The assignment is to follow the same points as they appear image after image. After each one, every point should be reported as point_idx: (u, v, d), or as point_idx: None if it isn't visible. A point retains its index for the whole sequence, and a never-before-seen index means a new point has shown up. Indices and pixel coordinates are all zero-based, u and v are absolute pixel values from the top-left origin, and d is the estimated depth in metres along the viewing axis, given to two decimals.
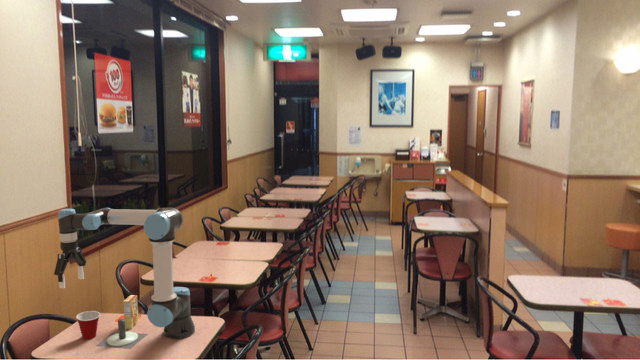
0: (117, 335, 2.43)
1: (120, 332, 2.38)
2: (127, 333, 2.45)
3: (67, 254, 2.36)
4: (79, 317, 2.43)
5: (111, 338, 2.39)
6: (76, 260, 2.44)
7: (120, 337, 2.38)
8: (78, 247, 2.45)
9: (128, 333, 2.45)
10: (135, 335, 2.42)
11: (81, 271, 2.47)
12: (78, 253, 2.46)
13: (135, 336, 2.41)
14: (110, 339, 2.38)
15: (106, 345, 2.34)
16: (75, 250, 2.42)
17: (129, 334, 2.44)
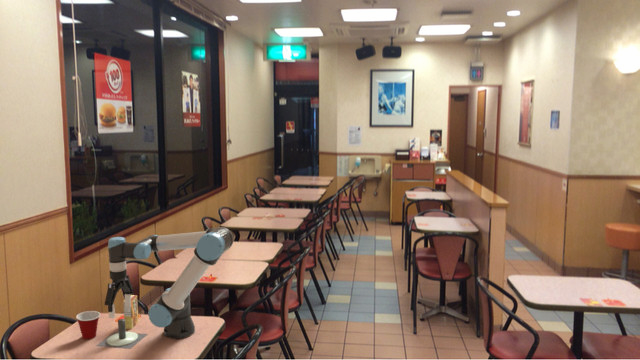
0: (117, 335, 2.43)
1: (120, 332, 2.38)
2: (127, 333, 2.45)
3: (117, 283, 2.33)
4: (79, 317, 2.43)
5: (111, 338, 2.39)
6: (124, 288, 2.41)
7: (120, 337, 2.38)
8: (126, 275, 2.42)
9: (128, 333, 2.45)
10: (135, 335, 2.42)
11: (128, 299, 2.44)
12: (126, 281, 2.43)
13: (135, 336, 2.41)
14: (110, 339, 2.38)
15: (106, 345, 2.34)
16: (124, 279, 2.39)
17: (129, 334, 2.44)
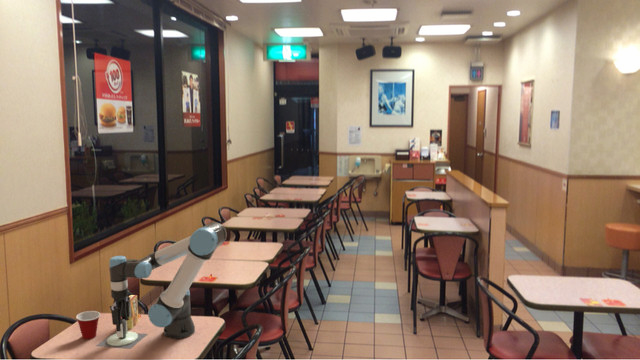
0: None
1: None
2: (127, 333, 2.45)
3: (118, 302, 2.34)
4: (79, 317, 2.43)
5: (111, 338, 2.39)
6: (123, 311, 2.40)
7: (120, 337, 2.38)
8: (128, 297, 2.43)
9: (128, 333, 2.45)
10: (135, 335, 2.42)
11: (125, 326, 2.40)
12: (126, 303, 2.42)
13: (135, 336, 2.41)
14: (110, 339, 2.38)
15: (106, 345, 2.34)
16: (125, 297, 2.40)
17: (129, 334, 2.44)
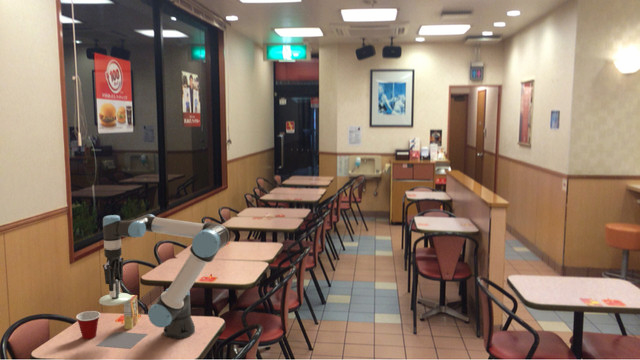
0: None
1: None
2: (120, 294, 2.43)
3: (111, 261, 2.32)
4: (79, 317, 2.43)
5: (103, 298, 2.37)
6: (116, 271, 2.38)
7: (113, 297, 2.36)
8: None
9: (121, 294, 2.43)
10: (128, 296, 2.40)
11: (118, 286, 2.39)
12: (119, 264, 2.40)
13: (128, 297, 2.39)
14: (102, 299, 2.36)
15: (106, 345, 2.34)
16: (119, 257, 2.38)
17: (122, 295, 2.42)
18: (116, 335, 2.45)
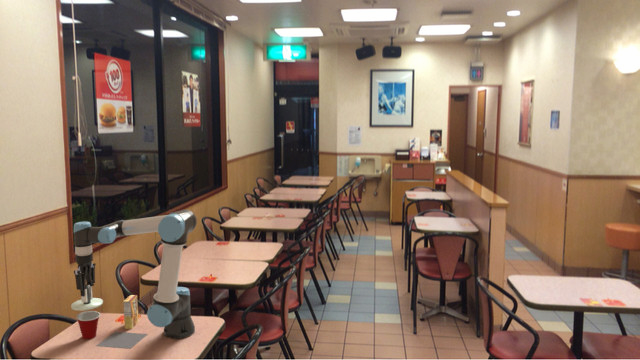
0: None
1: None
2: (92, 299, 2.46)
3: (82, 267, 2.36)
4: (79, 317, 2.43)
5: (76, 303, 2.40)
6: (88, 276, 2.41)
7: (85, 302, 2.40)
8: (93, 263, 2.45)
9: (93, 299, 2.46)
10: (100, 301, 2.44)
11: (90, 291, 2.42)
12: (91, 269, 2.44)
13: (100, 301, 2.43)
14: (74, 304, 2.40)
15: (106, 345, 2.34)
16: (90, 263, 2.42)
17: (94, 300, 2.45)
18: (116, 335, 2.45)
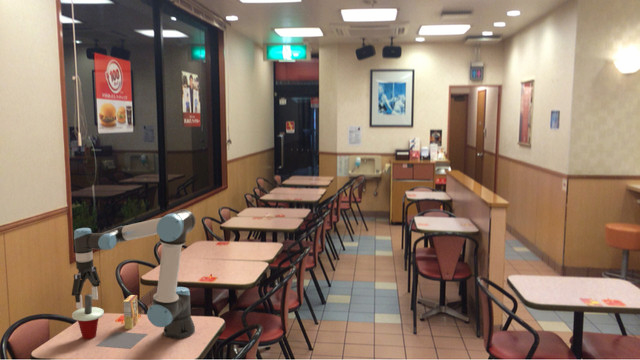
0: (83, 310, 2.45)
1: (86, 307, 2.40)
2: (93, 308, 2.47)
3: (83, 273, 2.36)
4: None
5: (77, 313, 2.41)
6: (91, 280, 2.44)
7: (86, 312, 2.40)
8: None
9: (94, 308, 2.47)
10: (101, 311, 2.45)
11: (95, 291, 2.46)
12: (93, 273, 2.46)
13: (101, 312, 2.44)
14: (75, 313, 2.40)
15: (106, 345, 2.34)
16: (91, 269, 2.42)
17: (95, 310, 2.46)
18: (116, 335, 2.45)
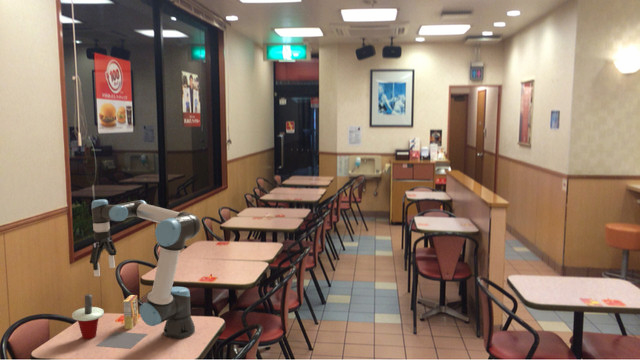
0: (83, 310, 2.45)
1: (86, 307, 2.40)
2: (93, 308, 2.47)
3: (101, 243, 2.44)
4: None
5: (77, 313, 2.41)
6: (108, 249, 2.52)
7: (86, 312, 2.40)
8: (109, 237, 2.53)
9: (94, 308, 2.47)
10: (101, 311, 2.45)
11: (112, 260, 2.55)
12: (109, 243, 2.54)
13: (101, 312, 2.44)
14: (76, 313, 2.40)
15: (106, 345, 2.34)
16: (107, 240, 2.50)
17: (95, 310, 2.46)
18: (116, 335, 2.45)
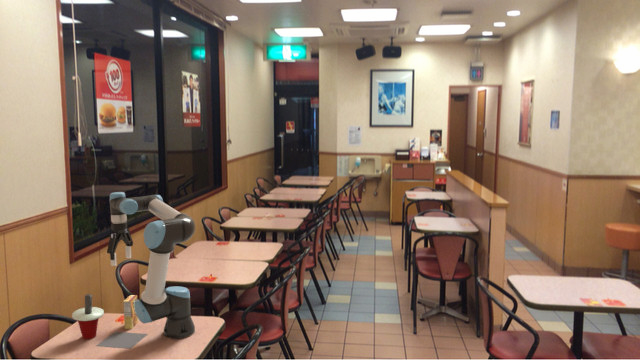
0: (83, 310, 2.45)
1: (86, 307, 2.40)
2: (93, 308, 2.47)
3: (118, 234, 2.54)
4: None
5: (77, 313, 2.41)
6: (125, 240, 2.62)
7: (86, 312, 2.40)
8: (126, 228, 2.63)
9: (94, 308, 2.47)
10: (101, 311, 2.45)
11: (129, 251, 2.65)
12: (126, 234, 2.63)
13: (101, 312, 2.44)
14: (76, 313, 2.40)
15: (106, 345, 2.34)
16: (124, 231, 2.60)
17: (95, 310, 2.46)
18: (116, 335, 2.45)
